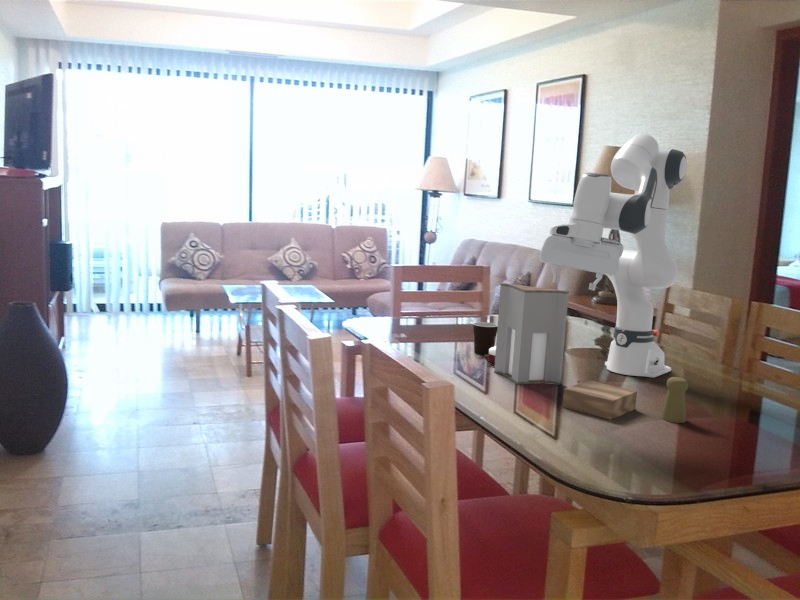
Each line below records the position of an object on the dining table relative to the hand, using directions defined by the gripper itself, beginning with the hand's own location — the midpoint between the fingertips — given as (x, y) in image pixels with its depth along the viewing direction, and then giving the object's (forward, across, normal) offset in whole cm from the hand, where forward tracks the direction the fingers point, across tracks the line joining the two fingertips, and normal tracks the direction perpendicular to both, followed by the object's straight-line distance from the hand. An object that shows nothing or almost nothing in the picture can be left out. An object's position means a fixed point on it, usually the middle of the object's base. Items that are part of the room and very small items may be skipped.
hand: (573, 286), depth 198 cm
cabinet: (+30, +6, -29) cm, 43 cm away
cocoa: (+29, +14, -47) cm, 57 cm away
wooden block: (+30, -14, -7) cm, 34 cm away
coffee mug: (+27, +18, -64) cm, 72 cm away
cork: (+29, -32, -3) cm, 43 cm away
